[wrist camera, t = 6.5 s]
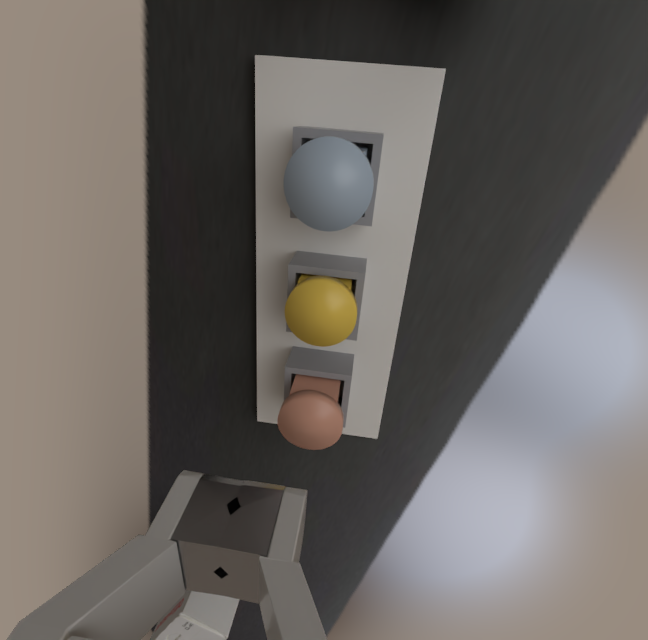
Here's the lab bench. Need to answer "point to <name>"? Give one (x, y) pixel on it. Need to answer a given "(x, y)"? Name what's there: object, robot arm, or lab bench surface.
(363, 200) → the slate button
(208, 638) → the ink box
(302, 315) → the ochre button
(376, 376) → the console
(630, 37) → the lab bench surface
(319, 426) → the terracotta button
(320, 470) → the lab bench surface
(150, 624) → the robot arm
